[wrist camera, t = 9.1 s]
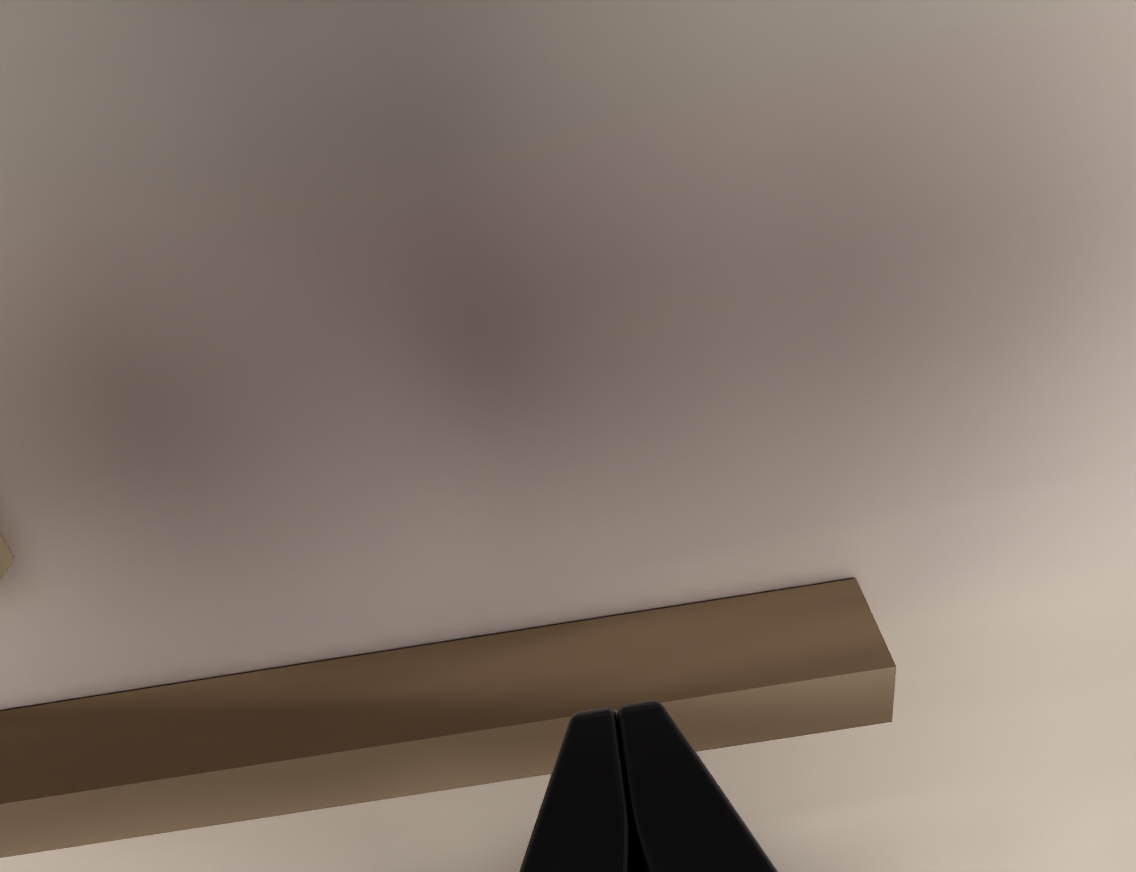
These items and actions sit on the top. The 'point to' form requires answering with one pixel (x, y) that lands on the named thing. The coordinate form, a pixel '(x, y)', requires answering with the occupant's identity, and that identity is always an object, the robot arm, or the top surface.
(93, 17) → the top surface
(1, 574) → the box
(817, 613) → the bay
